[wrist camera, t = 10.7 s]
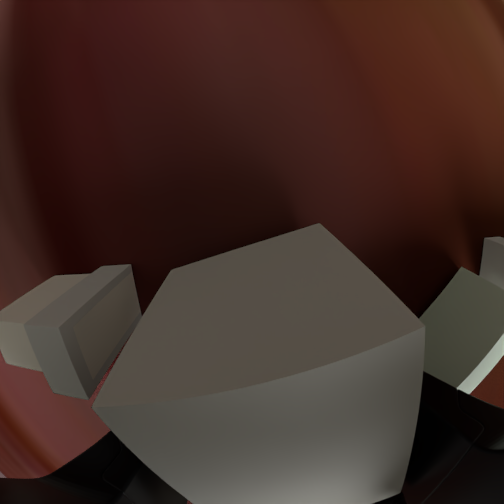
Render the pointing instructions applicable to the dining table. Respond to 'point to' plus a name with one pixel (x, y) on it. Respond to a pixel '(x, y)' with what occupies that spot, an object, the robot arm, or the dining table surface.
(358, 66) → the dining table surface
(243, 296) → the grey cube block
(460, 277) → the pale green curved bar
